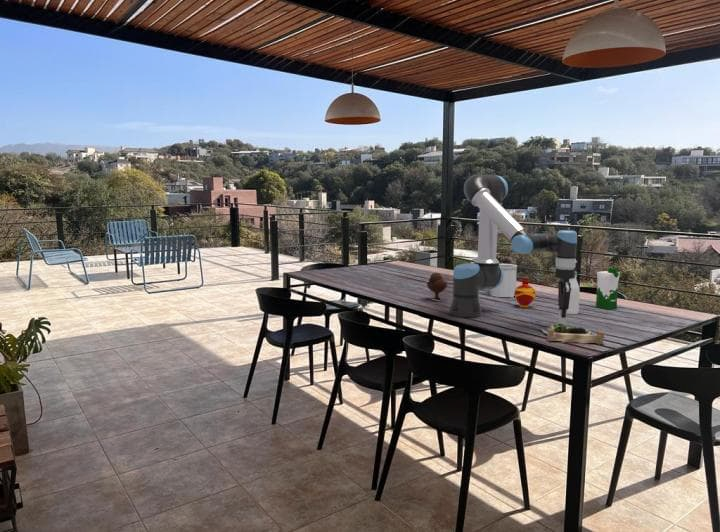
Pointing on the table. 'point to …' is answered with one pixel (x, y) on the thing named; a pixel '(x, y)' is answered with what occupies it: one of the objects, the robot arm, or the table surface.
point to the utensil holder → (506, 282)
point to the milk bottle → (574, 296)
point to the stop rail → (575, 337)
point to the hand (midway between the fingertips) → (562, 324)
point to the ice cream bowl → (436, 284)
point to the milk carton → (607, 289)
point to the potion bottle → (525, 293)
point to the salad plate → (566, 329)
